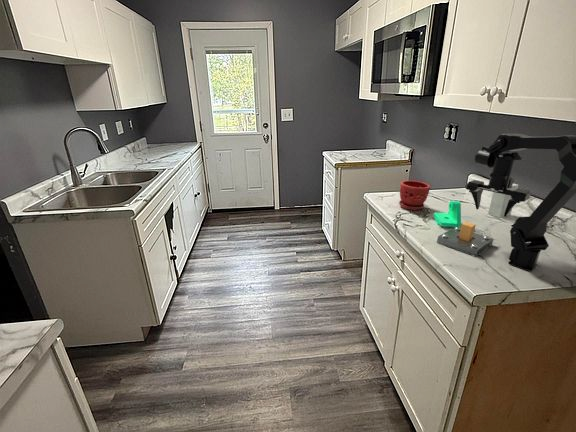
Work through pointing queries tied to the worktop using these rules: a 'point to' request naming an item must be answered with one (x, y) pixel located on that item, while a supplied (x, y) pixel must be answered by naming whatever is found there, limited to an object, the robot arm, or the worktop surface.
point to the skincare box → (500, 203)
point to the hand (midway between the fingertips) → (490, 212)
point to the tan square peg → (467, 231)
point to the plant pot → (413, 194)
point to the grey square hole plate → (465, 242)
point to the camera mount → (450, 215)
